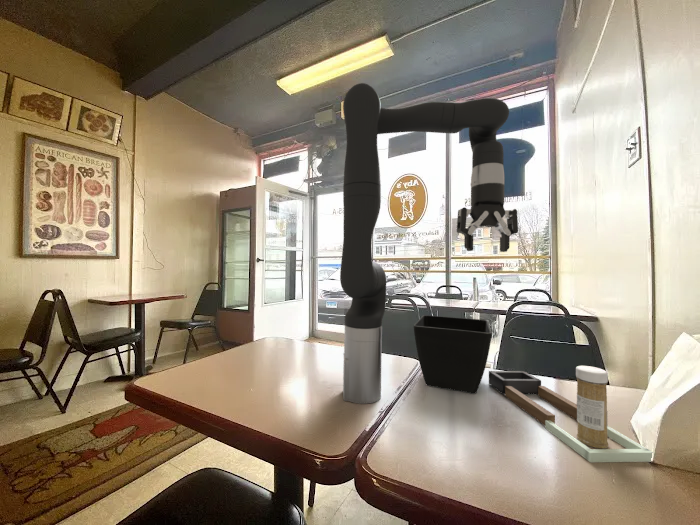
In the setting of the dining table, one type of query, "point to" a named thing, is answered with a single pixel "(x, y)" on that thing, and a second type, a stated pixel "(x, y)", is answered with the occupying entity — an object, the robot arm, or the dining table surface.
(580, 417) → the sprinkles bottle
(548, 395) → the channel
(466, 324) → the flower pot
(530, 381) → the bin
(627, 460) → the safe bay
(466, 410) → the dining table surface
